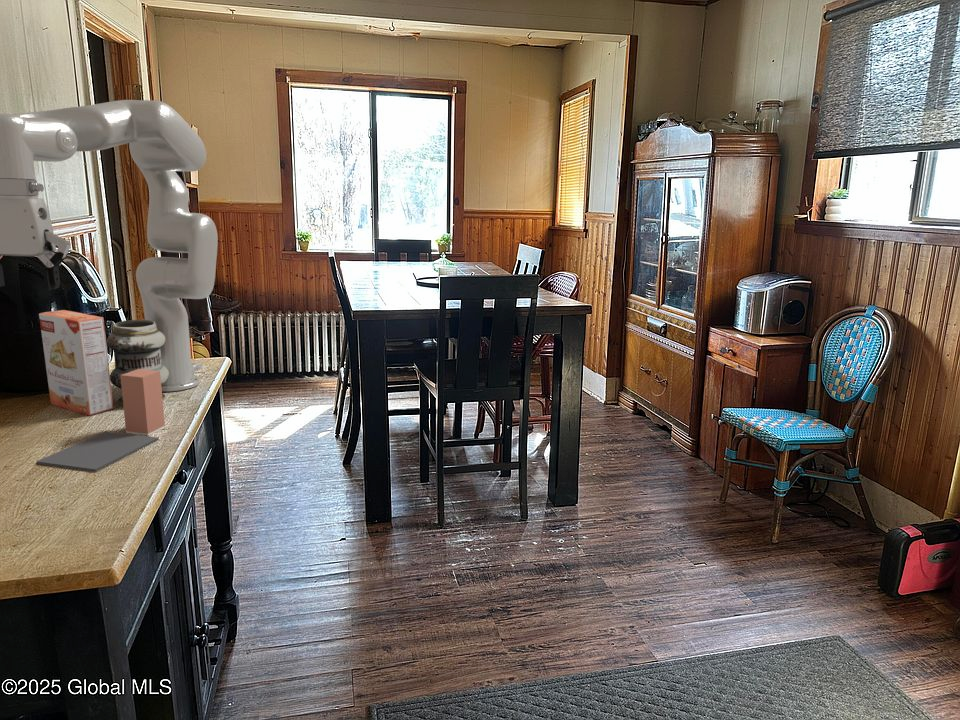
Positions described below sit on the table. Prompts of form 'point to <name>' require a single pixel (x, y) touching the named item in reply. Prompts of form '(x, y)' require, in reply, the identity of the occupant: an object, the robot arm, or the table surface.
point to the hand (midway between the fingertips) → (25, 288)
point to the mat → (97, 451)
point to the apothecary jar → (136, 349)
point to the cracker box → (76, 361)
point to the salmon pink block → (142, 401)
